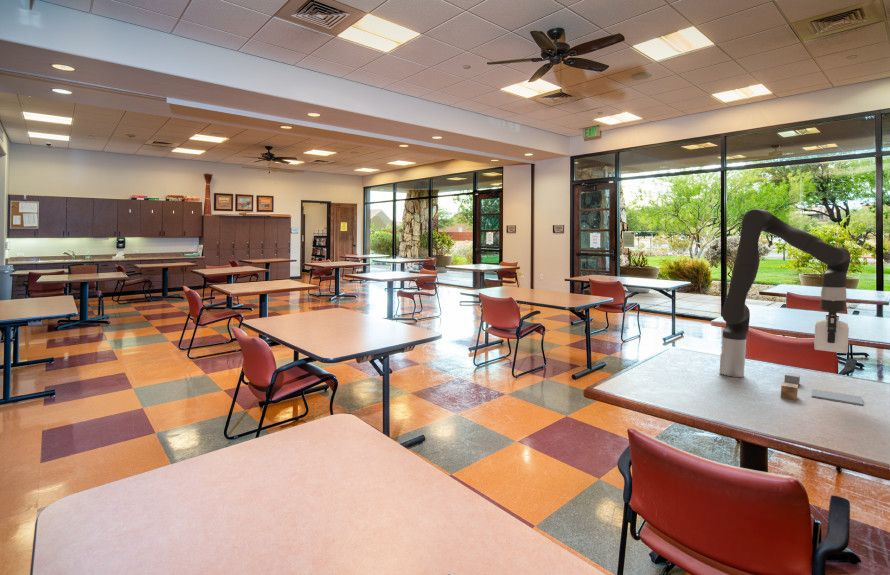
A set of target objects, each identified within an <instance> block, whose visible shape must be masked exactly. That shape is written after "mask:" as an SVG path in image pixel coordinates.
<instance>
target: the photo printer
mask: <svg viewBox="0 0 890 575" xmlns="http://www.w3.org/2000/svg"><path fill="white" fill-rule="evenodd" d="M829 329H834V328H833V327H830V328H829ZM827 330H828V327H826V319H820V320H817V321H816V323H815V325H814V344H813V345H814V347H813V348H814V350H815V351H825V352H832V353H840V354H847V353H849V336H850V335H849V332H850V331H849V330H850V327H849V325H848V323H847V322H845V321H841V320H839V321H838V327H837V328H836V334H835V343H828V342H827V339H828V332H827Z"/></svg>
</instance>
